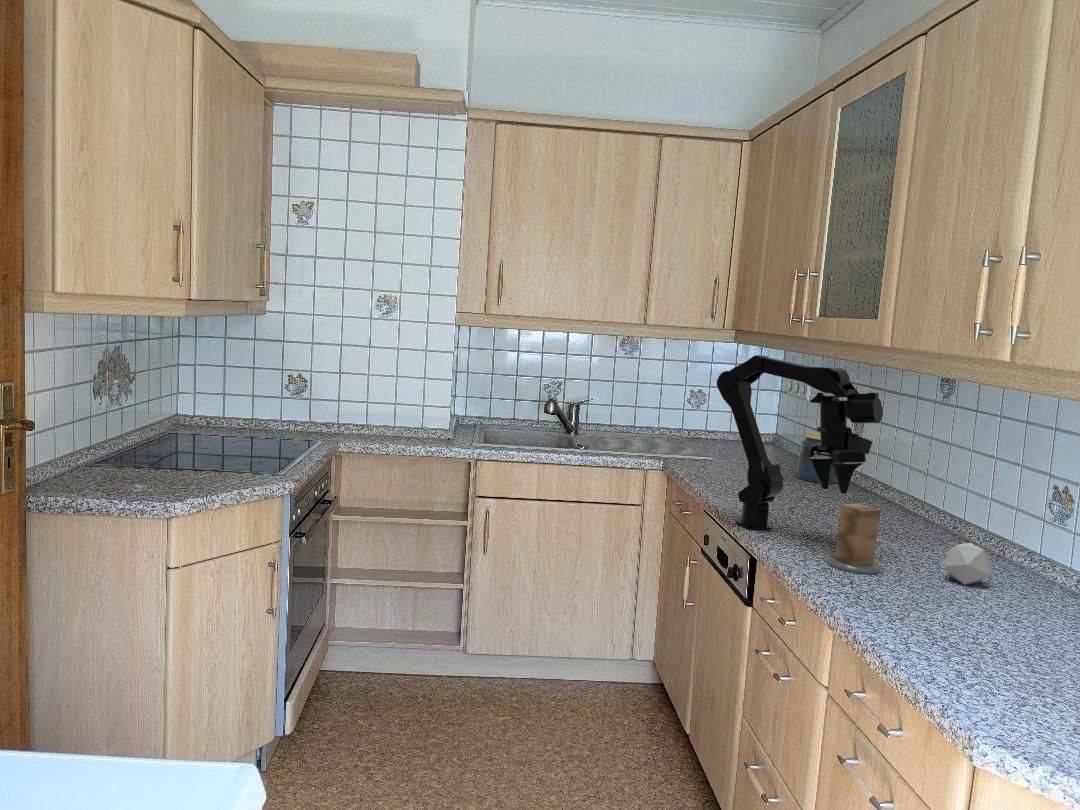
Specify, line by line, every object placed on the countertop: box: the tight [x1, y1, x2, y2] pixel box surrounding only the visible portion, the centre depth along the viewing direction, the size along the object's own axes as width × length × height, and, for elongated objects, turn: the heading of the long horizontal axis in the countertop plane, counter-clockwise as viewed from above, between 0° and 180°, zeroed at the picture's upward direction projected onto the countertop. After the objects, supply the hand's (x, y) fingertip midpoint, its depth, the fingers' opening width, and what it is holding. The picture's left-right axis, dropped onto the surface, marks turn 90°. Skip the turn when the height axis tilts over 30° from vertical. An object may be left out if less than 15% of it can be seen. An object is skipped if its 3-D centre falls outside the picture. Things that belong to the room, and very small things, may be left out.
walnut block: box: [834, 503, 882, 567], centre depth 185 cm, size 6×6×12 cm
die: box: [944, 542, 991, 586], centre depth 181 cm, size 8×9×10 cm
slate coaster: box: [825, 554, 882, 575], centre depth 185 cm, size 11×11×1 cm
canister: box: [796, 431, 838, 485], centre depth 285 cm, size 13×13×18 cm
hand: (834, 491), depth 199 cm, fingers open, 9 cm apart
